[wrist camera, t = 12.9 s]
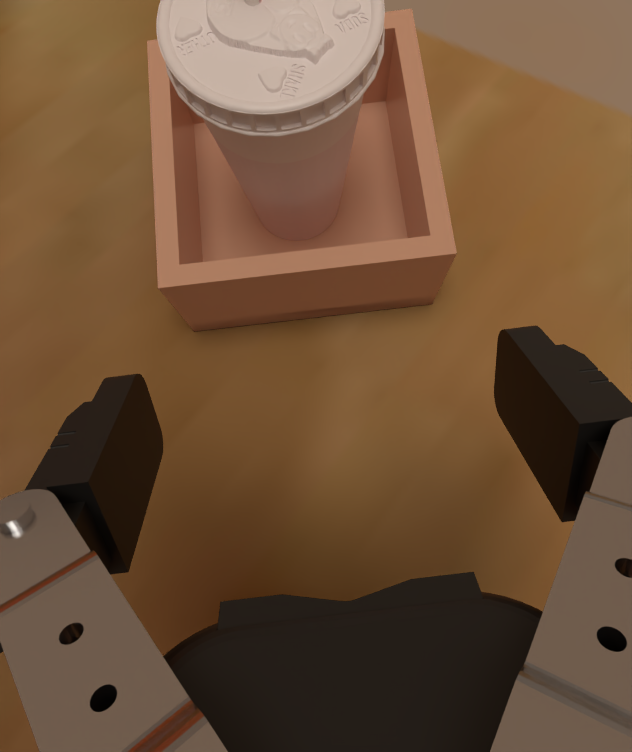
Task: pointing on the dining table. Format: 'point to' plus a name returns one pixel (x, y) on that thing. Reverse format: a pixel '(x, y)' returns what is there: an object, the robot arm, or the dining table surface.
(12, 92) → the dining table surface
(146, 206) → the dining table surface
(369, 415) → the dining table surface
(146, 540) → the dining table surface
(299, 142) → the smoothie
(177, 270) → the pink square tray
